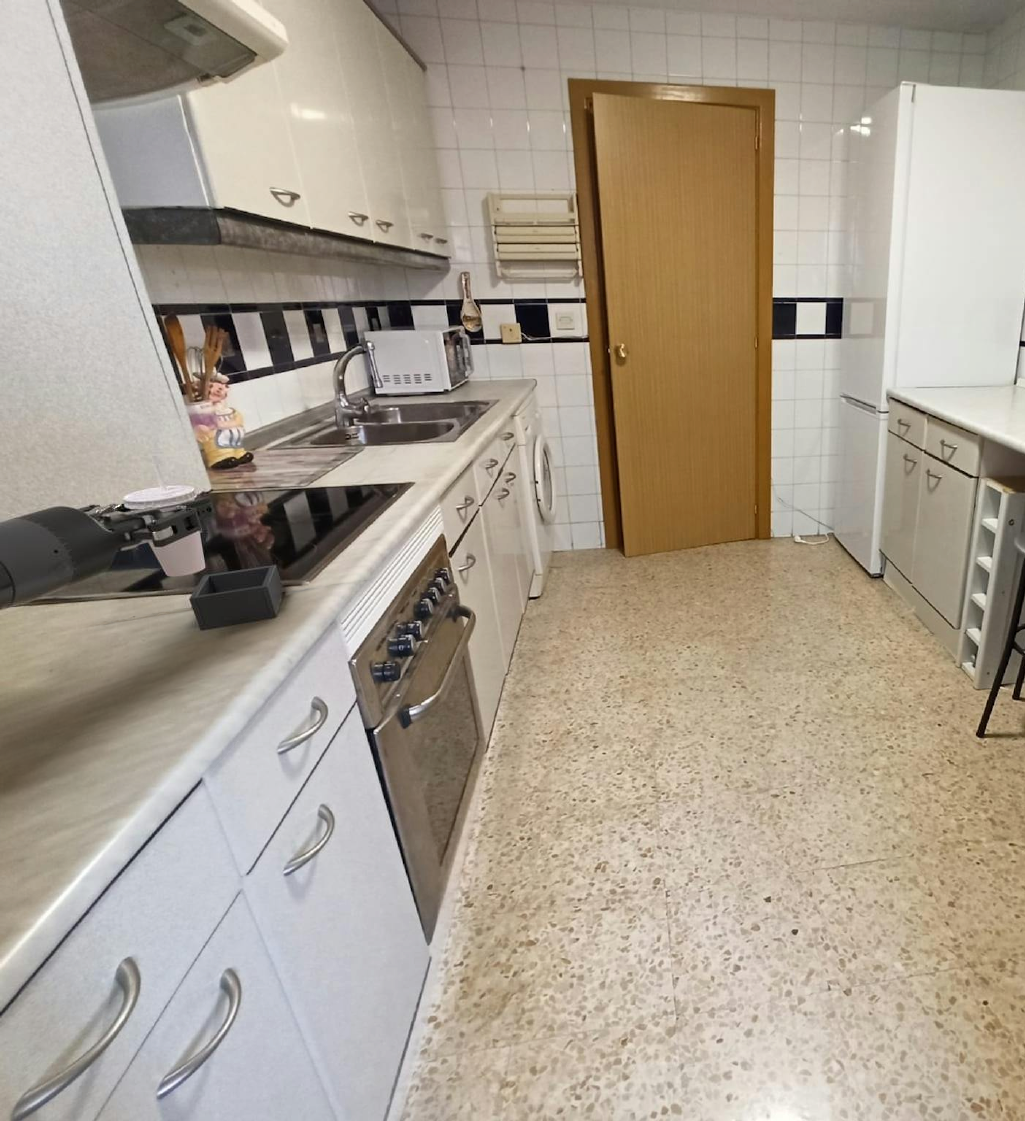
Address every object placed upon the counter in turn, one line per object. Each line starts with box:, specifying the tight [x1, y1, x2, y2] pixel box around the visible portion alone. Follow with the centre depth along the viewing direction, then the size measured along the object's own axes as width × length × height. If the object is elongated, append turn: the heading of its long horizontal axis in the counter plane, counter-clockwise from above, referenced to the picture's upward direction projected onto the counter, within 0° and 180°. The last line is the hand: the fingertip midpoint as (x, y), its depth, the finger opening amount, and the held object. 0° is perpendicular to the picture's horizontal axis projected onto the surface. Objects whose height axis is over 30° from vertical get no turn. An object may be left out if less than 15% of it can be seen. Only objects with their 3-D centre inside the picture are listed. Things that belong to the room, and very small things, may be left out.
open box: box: [188, 564, 285, 631], centre depth 89 cm, size 8×8×5 cm
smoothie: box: [122, 453, 206, 577], centre depth 75 cm, size 6×6×14 cm
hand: (182, 504), depth 77 cm, fingers closed on smoothie, 6 cm apart
